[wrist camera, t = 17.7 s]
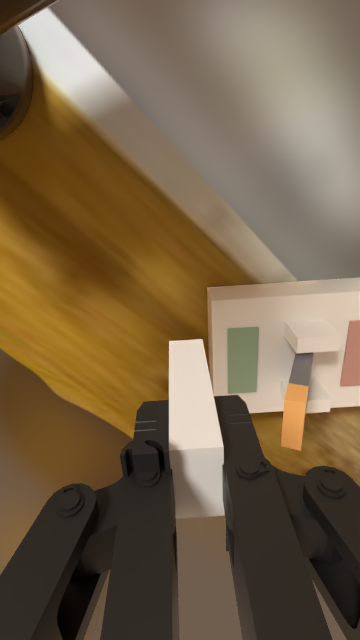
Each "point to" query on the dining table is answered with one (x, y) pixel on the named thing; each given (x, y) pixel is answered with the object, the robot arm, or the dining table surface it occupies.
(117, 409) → the dining table surface
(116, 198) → the dining table surface
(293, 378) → the breaker lever
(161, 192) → the dining table surface
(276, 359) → the box
